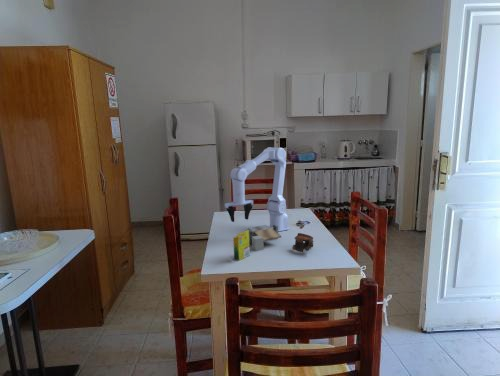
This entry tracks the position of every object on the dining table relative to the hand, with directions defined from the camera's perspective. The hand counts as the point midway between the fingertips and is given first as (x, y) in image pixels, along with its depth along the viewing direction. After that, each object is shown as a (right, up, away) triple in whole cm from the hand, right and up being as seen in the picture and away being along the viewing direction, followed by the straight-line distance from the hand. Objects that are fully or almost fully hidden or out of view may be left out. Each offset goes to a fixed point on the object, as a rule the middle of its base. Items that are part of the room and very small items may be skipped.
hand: (239, 220), depth 162 cm
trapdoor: (+12, -8, -1) cm, 14 cm away
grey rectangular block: (+9, -7, -11) cm, 15 cm away
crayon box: (+2, -14, -19) cm, 24 cm away
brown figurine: (+29, -14, -14) cm, 35 cm away
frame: (+11, -10, +2) cm, 15 cm away
